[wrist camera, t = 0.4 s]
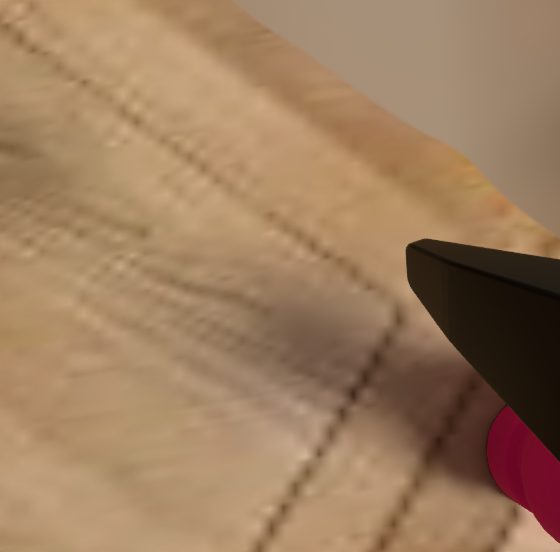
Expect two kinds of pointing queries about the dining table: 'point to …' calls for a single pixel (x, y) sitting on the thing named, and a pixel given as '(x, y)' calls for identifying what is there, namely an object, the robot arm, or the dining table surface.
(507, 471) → the pepper mill
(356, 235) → the dining table surface
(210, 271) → the dining table surface
